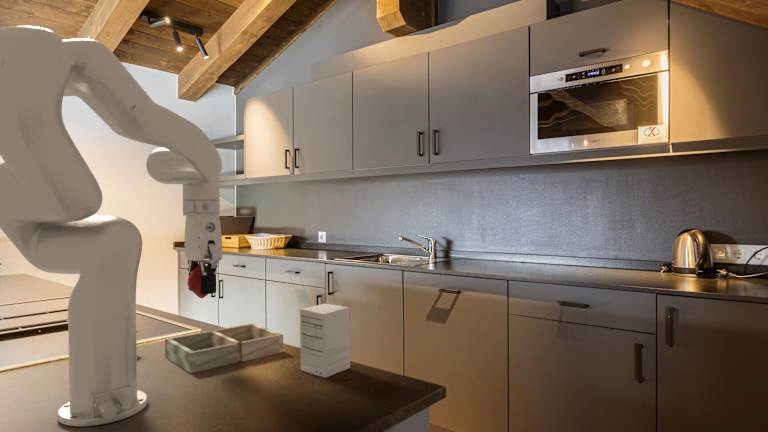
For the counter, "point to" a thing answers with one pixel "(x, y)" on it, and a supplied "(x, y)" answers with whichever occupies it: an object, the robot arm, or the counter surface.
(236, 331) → the compartment tray
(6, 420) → the counter surface
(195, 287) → the onion
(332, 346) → the supplement box
